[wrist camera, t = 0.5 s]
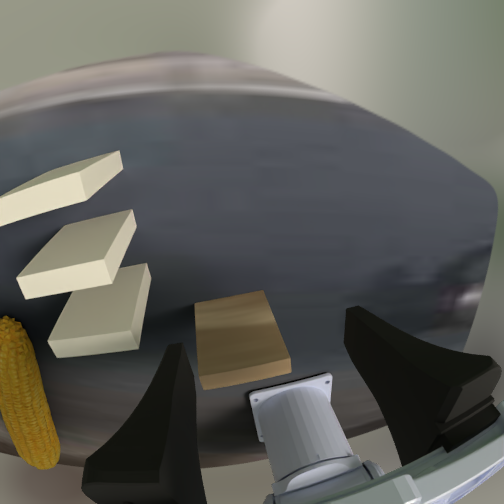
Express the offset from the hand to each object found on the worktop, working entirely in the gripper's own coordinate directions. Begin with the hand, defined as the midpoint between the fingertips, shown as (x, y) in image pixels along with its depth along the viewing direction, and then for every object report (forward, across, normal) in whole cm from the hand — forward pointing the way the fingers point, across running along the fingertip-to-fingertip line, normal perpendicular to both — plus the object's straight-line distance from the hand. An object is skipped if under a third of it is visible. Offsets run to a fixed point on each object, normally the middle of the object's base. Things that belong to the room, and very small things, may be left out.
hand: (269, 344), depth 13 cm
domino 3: (+9, +9, 0) cm, 13 cm away
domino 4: (+9, +1, +4) cm, 10 cm away
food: (+10, +23, +10) cm, 27 cm away
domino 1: (+9, +9, -8) cm, 15 cm away
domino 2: (+9, +9, -4) cm, 13 cm away
